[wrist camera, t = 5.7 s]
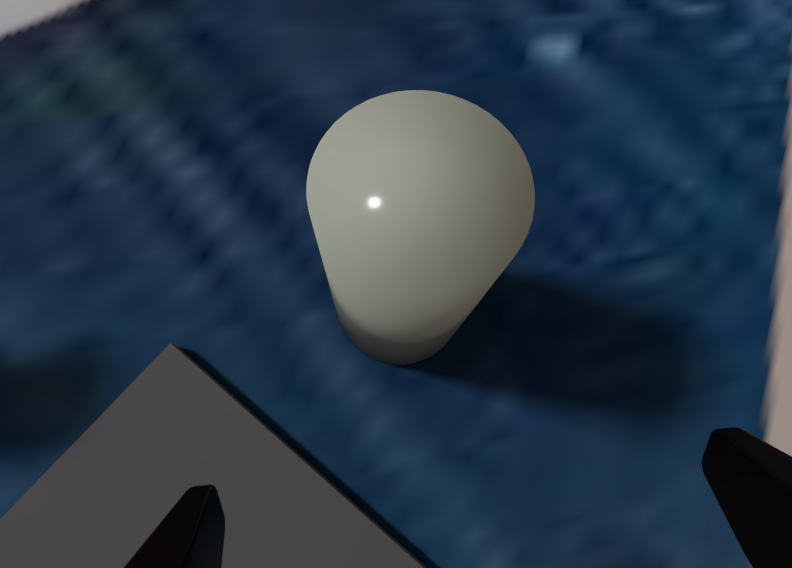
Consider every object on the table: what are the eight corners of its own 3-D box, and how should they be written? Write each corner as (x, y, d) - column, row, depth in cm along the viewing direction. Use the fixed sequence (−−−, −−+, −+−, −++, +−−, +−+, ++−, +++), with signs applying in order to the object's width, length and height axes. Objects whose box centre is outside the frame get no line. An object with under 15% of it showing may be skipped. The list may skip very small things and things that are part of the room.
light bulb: (485, 295, 23) (577, 176, 13) (408, 391, 22) (442, 347, 11) (390, 221, 24) (404, 53, 14) (310, 310, 23) (257, 199, 12)
